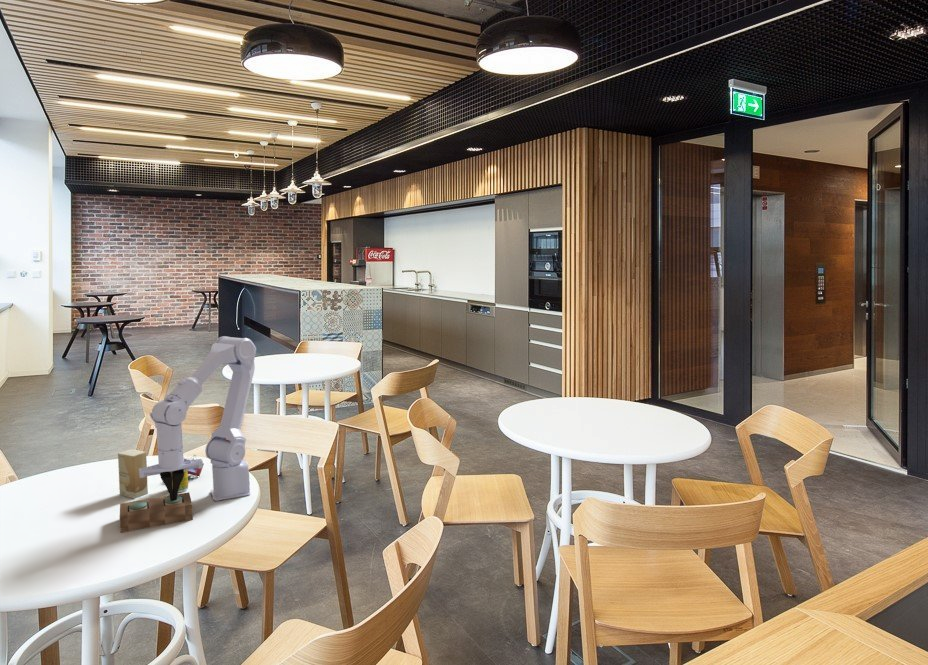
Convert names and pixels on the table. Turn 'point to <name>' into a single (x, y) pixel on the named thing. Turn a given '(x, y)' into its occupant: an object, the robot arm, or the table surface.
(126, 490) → the skincare box
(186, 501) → the walnut block
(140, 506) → the peg
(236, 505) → the table surface
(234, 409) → the robot arm
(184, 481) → the supplement bottle
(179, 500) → the peg
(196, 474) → the geometric puzzle
